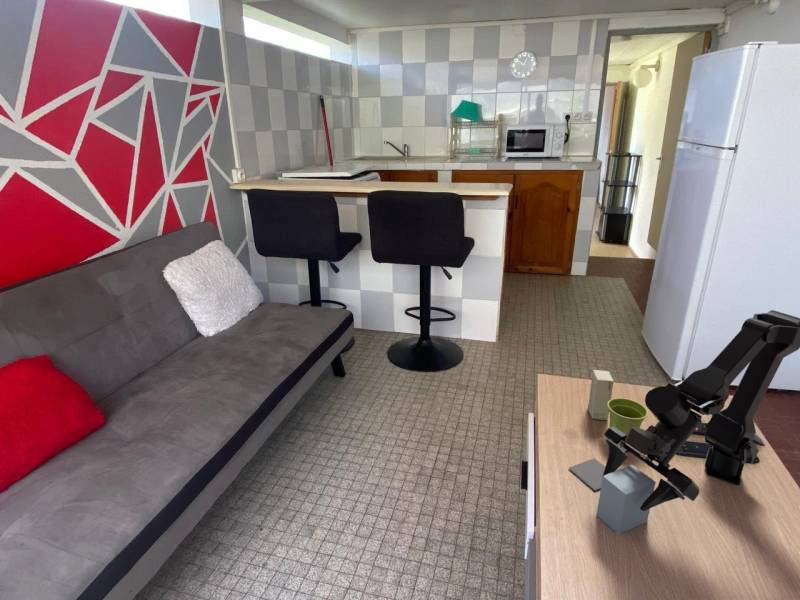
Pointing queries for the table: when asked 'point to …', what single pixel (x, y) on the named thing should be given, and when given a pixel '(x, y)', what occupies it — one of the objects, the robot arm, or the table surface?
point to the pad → (590, 473)
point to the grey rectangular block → (624, 498)
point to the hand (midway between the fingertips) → (621, 493)
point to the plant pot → (626, 414)
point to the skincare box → (600, 394)
